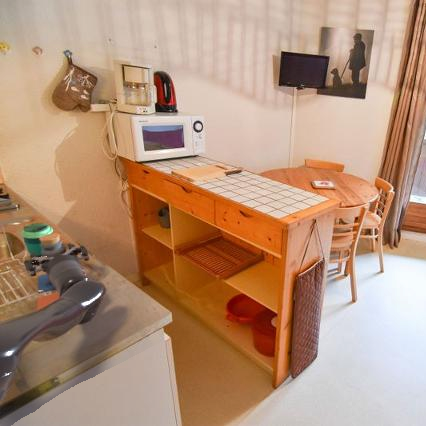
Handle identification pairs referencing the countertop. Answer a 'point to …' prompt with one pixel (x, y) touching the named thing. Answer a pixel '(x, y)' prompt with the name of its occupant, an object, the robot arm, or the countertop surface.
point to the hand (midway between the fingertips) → (52, 250)
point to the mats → (46, 286)
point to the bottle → (51, 245)
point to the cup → (35, 236)
